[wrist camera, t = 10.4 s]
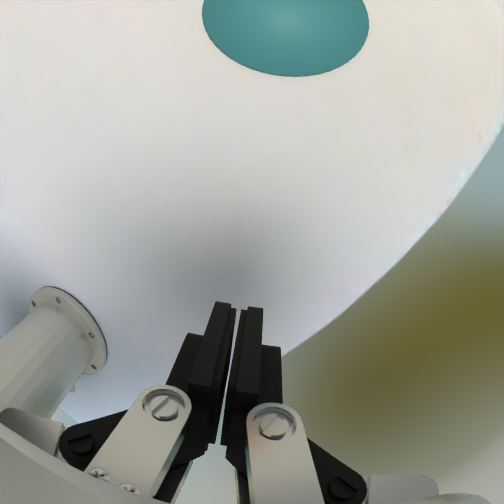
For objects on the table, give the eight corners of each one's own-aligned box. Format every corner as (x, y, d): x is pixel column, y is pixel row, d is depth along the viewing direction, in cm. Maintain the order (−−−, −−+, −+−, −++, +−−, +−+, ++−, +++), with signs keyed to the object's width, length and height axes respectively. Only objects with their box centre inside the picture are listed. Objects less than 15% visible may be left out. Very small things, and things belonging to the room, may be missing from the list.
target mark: (347, 101, 18) (347, 101, 18) (179, 55, 18) (178, 54, 17) (379, -12, 14) (379, -13, 13) (234, -51, 13) (234, -52, 13)
